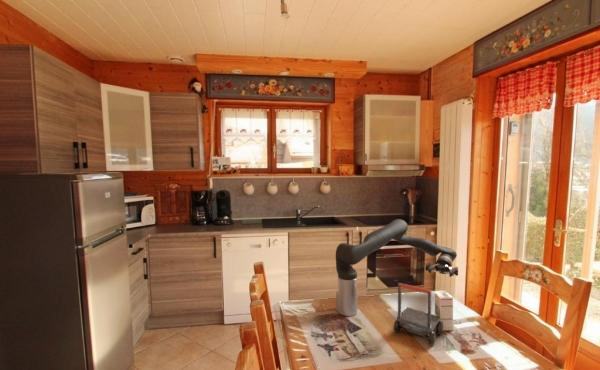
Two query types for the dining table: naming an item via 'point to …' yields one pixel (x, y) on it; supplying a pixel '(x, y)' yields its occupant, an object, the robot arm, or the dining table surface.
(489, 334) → the dining table surface
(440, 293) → the syrup box
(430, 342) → the trolley
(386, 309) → the dining table surface
